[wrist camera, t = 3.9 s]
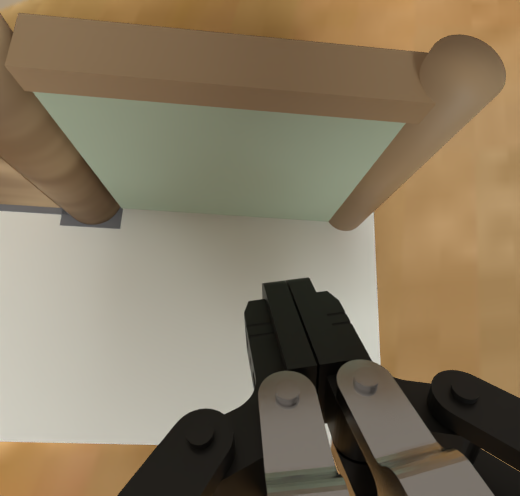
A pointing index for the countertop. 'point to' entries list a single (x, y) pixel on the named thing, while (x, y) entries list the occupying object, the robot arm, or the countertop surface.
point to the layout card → (151, 314)
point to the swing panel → (249, 114)
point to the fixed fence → (43, 156)
